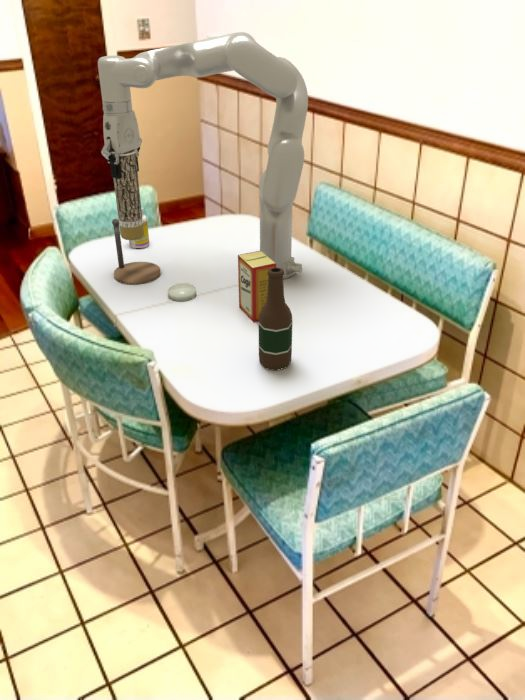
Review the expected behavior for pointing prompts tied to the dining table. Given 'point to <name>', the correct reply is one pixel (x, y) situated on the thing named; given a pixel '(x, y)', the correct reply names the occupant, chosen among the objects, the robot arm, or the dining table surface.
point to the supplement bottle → (144, 240)
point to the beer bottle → (275, 325)
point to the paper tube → (129, 198)
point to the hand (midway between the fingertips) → (125, 173)
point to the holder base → (132, 266)
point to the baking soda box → (253, 282)
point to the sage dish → (182, 292)
